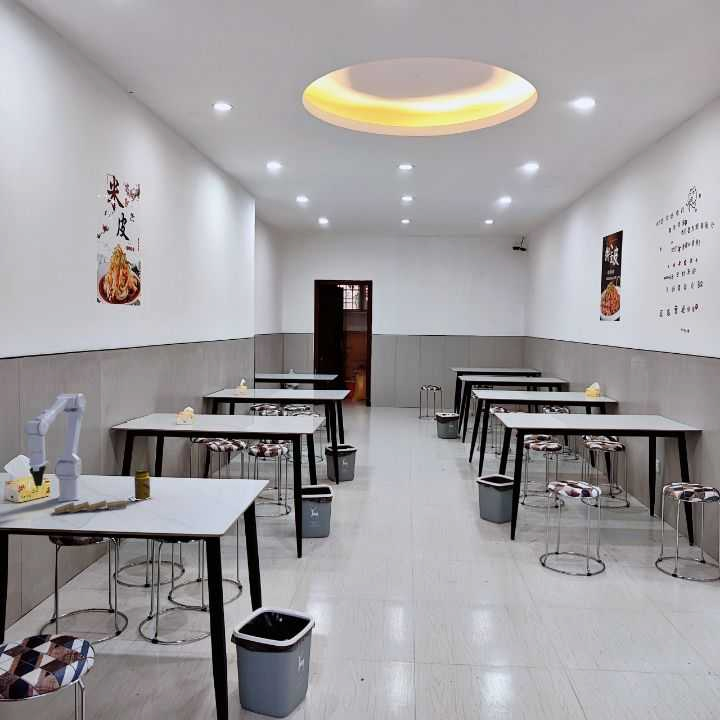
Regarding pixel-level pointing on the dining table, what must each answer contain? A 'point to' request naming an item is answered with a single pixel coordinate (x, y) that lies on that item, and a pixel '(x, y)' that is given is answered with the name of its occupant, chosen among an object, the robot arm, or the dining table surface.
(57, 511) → the domino
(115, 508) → the domino
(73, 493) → the robot arm
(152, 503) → the dining table surface
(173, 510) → the dining table surface
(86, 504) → the domino
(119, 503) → the domino
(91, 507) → the domino
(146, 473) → the condiment
